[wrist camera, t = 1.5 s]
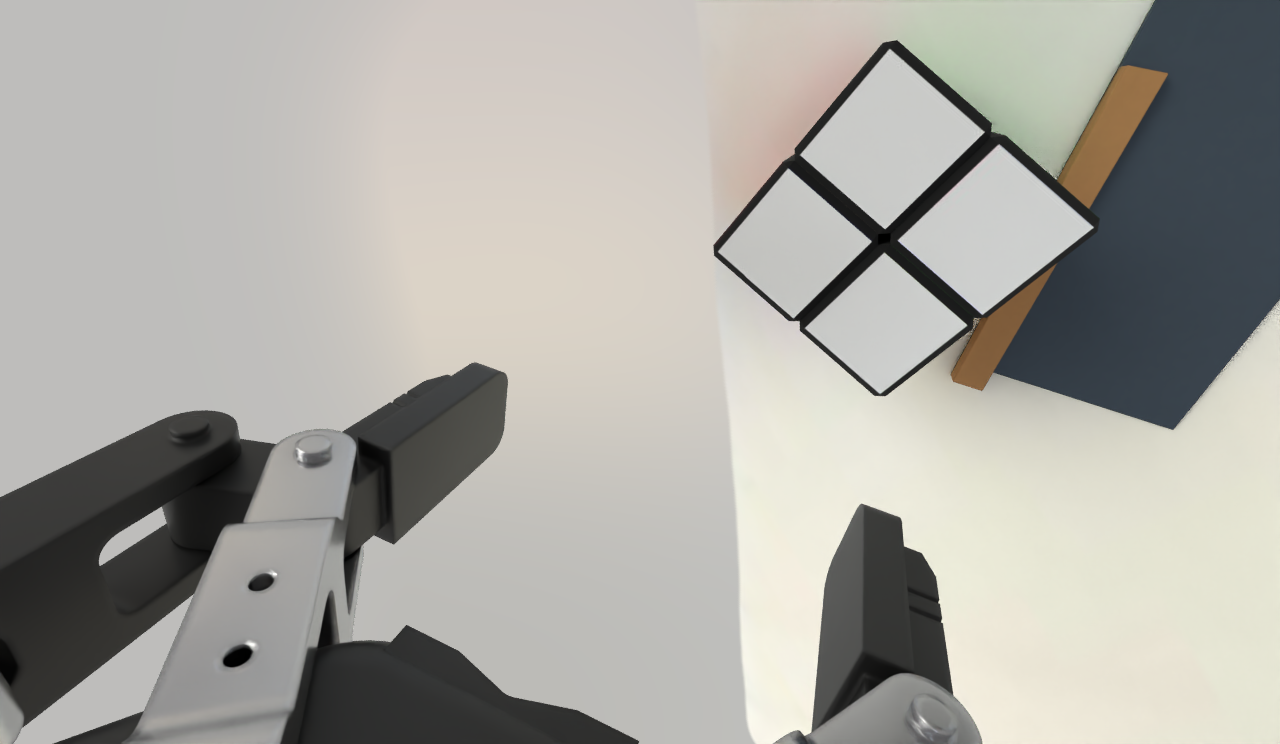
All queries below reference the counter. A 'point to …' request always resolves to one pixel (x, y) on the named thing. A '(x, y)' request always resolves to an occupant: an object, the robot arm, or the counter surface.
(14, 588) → the robot arm
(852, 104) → the puzzle cube
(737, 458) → the counter surface
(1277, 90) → the chalkboard
